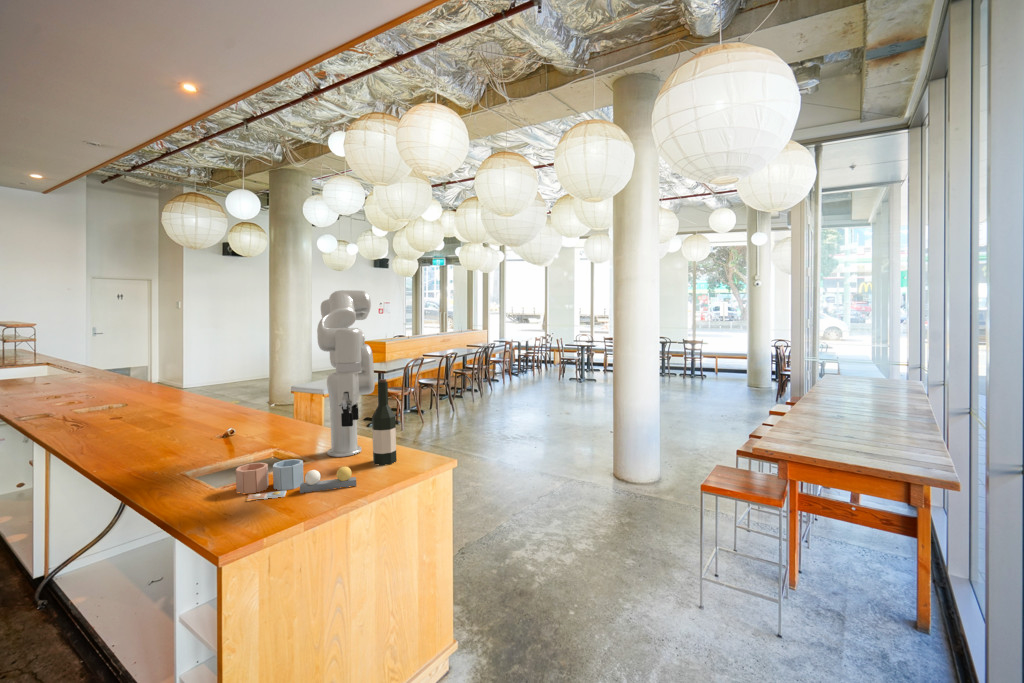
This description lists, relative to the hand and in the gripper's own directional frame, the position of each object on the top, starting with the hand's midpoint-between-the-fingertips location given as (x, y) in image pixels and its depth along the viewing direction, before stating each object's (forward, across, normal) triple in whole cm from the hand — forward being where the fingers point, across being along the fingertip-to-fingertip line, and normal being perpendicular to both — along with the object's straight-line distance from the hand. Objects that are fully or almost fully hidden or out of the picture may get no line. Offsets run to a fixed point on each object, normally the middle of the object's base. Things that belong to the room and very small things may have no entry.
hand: (350, 422), depth 145 cm
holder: (+19, +2, -7) cm, 21 cm away
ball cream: (+18, +3, -11) cm, 21 cm away
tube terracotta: (+19, -1, -30) cm, 35 cm away
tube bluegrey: (+19, -3, -20) cm, 28 cm away
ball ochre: (+18, +1, -2) cm, 18 cm away
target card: (+19, +6, -23) cm, 31 cm away
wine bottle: (+19, -22, +7) cm, 30 cm away
